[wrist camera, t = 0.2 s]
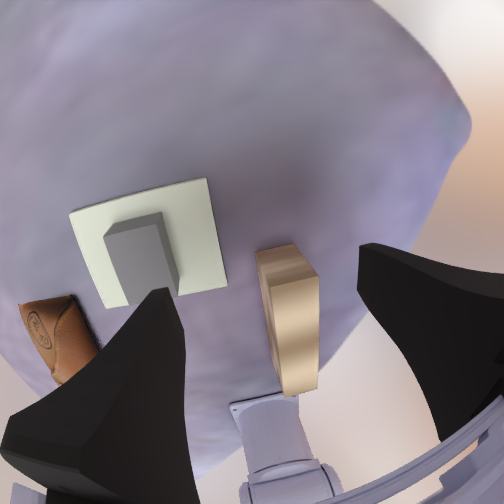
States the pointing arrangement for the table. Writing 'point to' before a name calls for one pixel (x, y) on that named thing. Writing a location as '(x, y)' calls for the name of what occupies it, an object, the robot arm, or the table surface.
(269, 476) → the robot arm
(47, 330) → the sunglasses case
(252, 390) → the table surface
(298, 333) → the beige piece
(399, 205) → the table surface
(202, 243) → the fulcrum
